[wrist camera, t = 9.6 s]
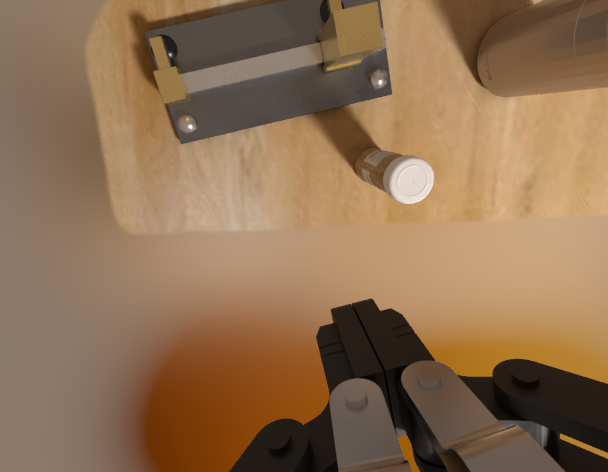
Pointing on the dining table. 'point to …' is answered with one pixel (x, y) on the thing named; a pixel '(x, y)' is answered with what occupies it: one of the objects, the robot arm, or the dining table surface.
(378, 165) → the sprinkles bottle
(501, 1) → the dining table surface
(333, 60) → the block
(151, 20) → the dining table surface
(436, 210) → the dining table surface
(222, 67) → the beam
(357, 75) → the metal base plate
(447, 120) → the dining table surface
